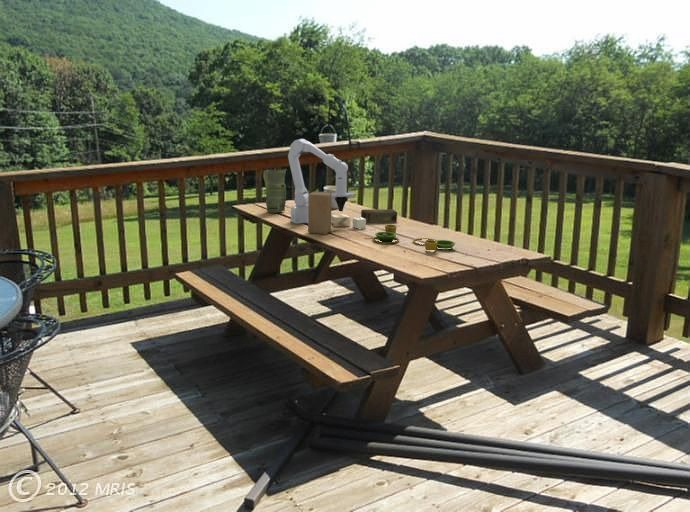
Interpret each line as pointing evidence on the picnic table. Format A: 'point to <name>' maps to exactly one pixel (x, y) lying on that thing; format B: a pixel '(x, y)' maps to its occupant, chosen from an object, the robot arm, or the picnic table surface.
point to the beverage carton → (379, 215)
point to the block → (319, 212)
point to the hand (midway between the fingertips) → (340, 211)
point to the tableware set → (429, 244)
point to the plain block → (340, 220)
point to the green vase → (275, 190)
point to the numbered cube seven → (359, 222)
